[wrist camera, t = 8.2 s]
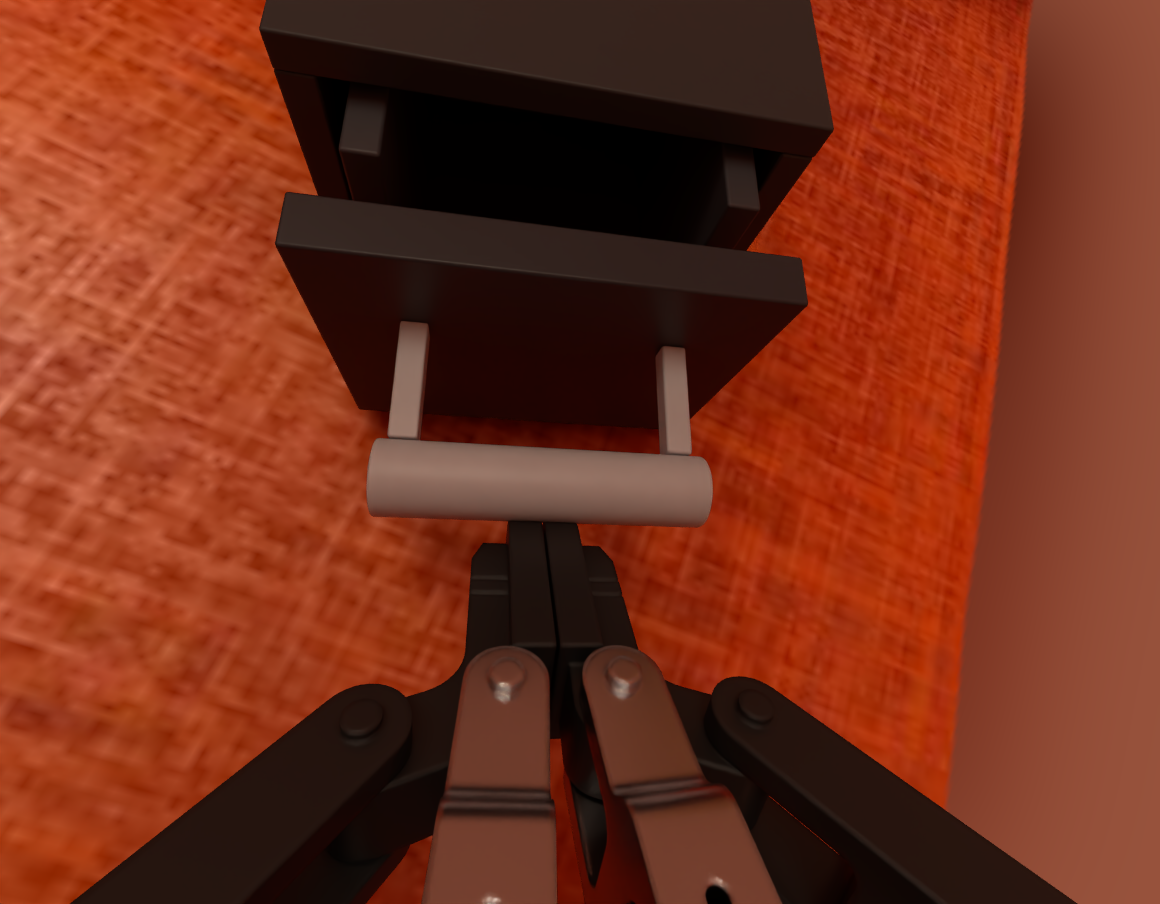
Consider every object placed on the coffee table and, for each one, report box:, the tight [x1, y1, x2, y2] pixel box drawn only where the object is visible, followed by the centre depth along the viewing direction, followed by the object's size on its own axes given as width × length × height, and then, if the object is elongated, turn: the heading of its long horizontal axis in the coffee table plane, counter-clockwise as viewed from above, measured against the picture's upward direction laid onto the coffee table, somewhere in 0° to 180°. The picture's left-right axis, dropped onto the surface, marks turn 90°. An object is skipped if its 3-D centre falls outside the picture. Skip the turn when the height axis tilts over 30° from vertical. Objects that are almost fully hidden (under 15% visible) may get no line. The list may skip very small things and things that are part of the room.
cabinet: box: [259, 0, 834, 251], centre depth 18 cm, size 14×12×10 cm
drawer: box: [275, 81, 808, 528], centre depth 16 cm, size 17×10×8 cm, turn 0°
